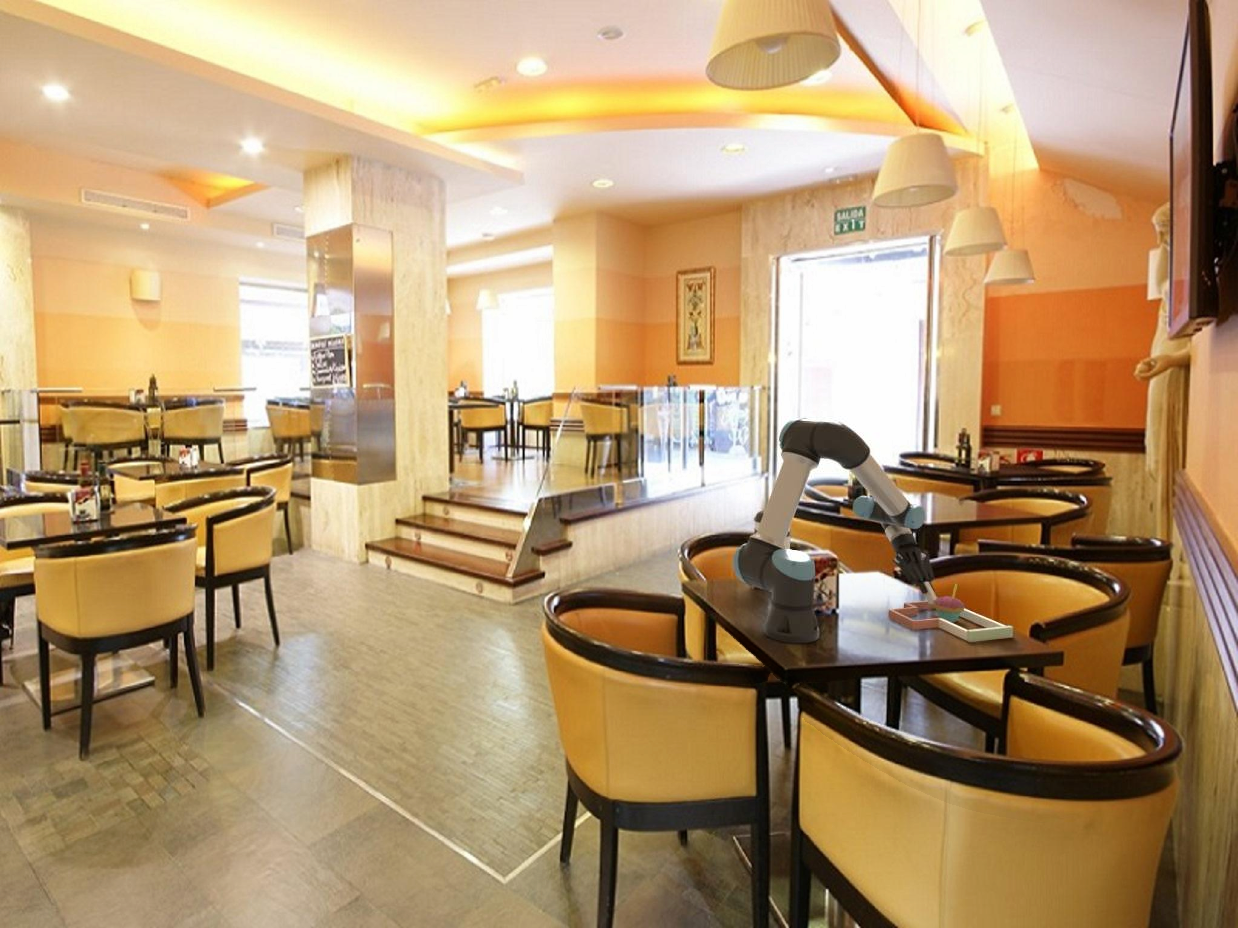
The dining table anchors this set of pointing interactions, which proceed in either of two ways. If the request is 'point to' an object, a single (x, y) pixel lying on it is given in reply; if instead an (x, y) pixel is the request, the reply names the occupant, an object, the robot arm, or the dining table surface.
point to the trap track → (988, 633)
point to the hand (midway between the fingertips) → (933, 602)
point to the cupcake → (949, 607)
